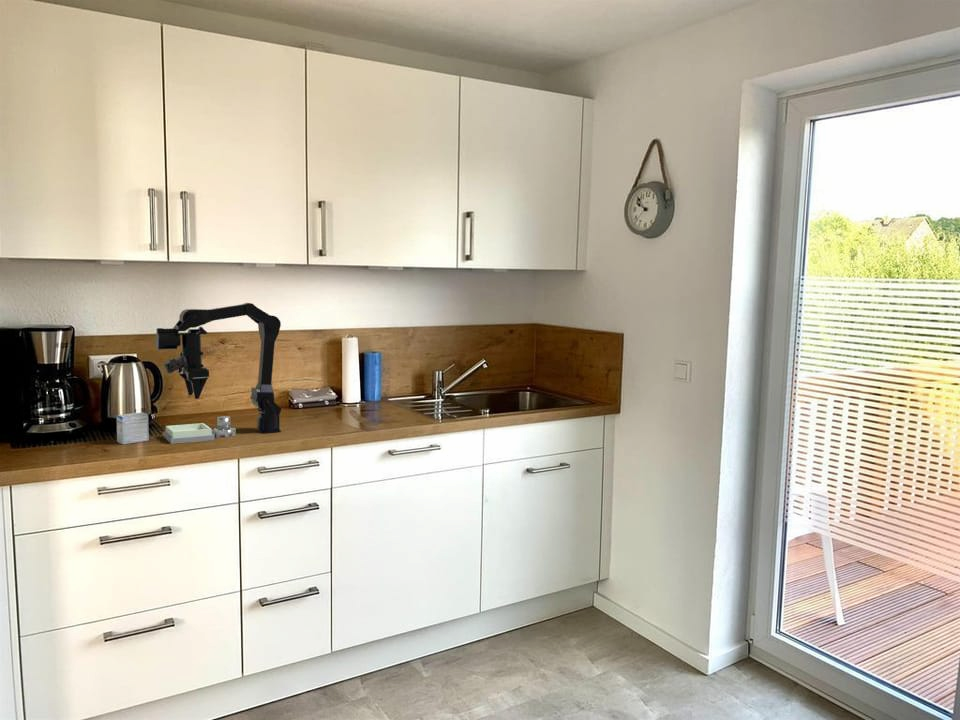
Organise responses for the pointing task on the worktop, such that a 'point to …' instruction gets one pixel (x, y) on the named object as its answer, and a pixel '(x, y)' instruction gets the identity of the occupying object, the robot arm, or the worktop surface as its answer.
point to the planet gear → (223, 427)
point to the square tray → (188, 433)
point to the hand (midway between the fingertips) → (193, 396)
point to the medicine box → (132, 428)
